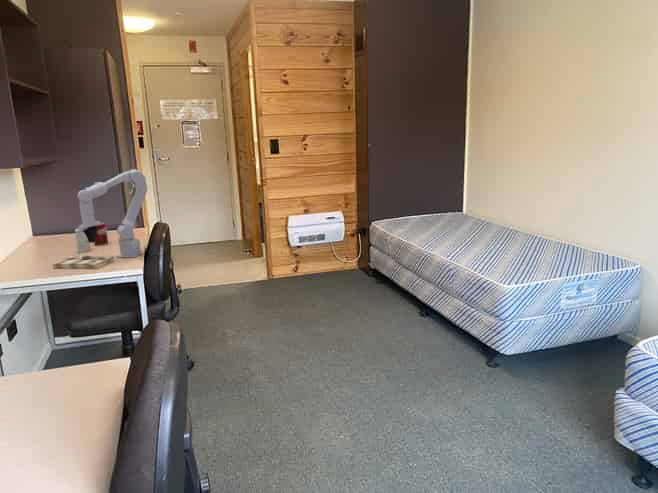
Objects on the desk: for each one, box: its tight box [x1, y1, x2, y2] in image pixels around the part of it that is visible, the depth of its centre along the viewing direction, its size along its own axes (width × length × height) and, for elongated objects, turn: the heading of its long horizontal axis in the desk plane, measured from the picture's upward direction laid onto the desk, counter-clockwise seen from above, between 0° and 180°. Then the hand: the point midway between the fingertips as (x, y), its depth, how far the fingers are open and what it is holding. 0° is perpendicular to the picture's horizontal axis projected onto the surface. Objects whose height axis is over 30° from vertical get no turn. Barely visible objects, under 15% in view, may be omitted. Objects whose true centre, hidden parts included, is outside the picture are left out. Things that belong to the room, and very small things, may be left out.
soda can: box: [93, 222, 109, 247], centre depth 271 cm, size 7×7×12 cm
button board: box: [52, 255, 115, 270], centre depth 231 cm, size 23×13×3 cm, turn 81°
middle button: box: [82, 255, 90, 260], centre depth 233 cm, size 3×3×2 cm
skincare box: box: [74, 228, 92, 254], centre depth 257 cm, size 6×4×12 cm
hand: (92, 242), depth 236 cm, fingers closed
